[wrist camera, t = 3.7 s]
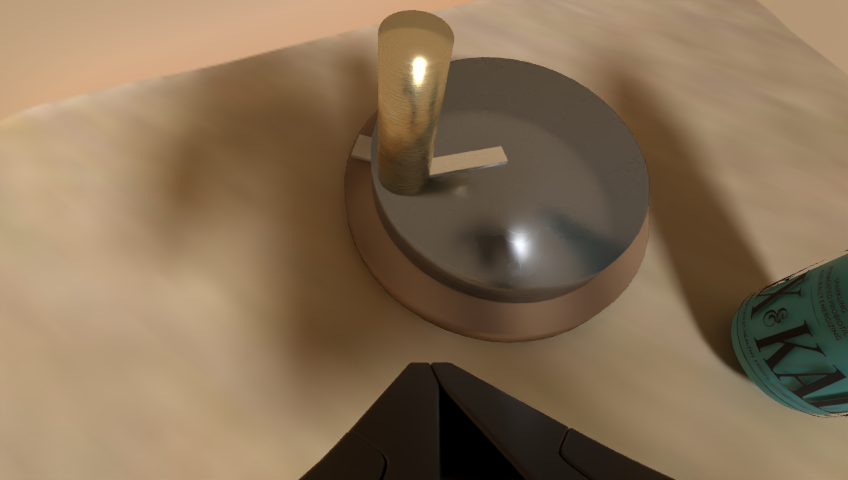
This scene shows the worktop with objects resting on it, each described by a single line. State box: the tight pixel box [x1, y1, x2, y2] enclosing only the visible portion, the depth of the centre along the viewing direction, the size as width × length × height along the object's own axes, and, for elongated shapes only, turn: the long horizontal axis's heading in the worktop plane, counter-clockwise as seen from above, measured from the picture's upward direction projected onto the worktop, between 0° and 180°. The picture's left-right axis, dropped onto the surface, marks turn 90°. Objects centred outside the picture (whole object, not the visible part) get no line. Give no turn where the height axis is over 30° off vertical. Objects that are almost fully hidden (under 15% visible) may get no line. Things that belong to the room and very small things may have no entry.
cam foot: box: [371, 10, 650, 304], centre depth 21 cm, size 15×15×10 cm
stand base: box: [345, 110, 649, 342], centre depth 26 cm, size 18×18×2 cm
